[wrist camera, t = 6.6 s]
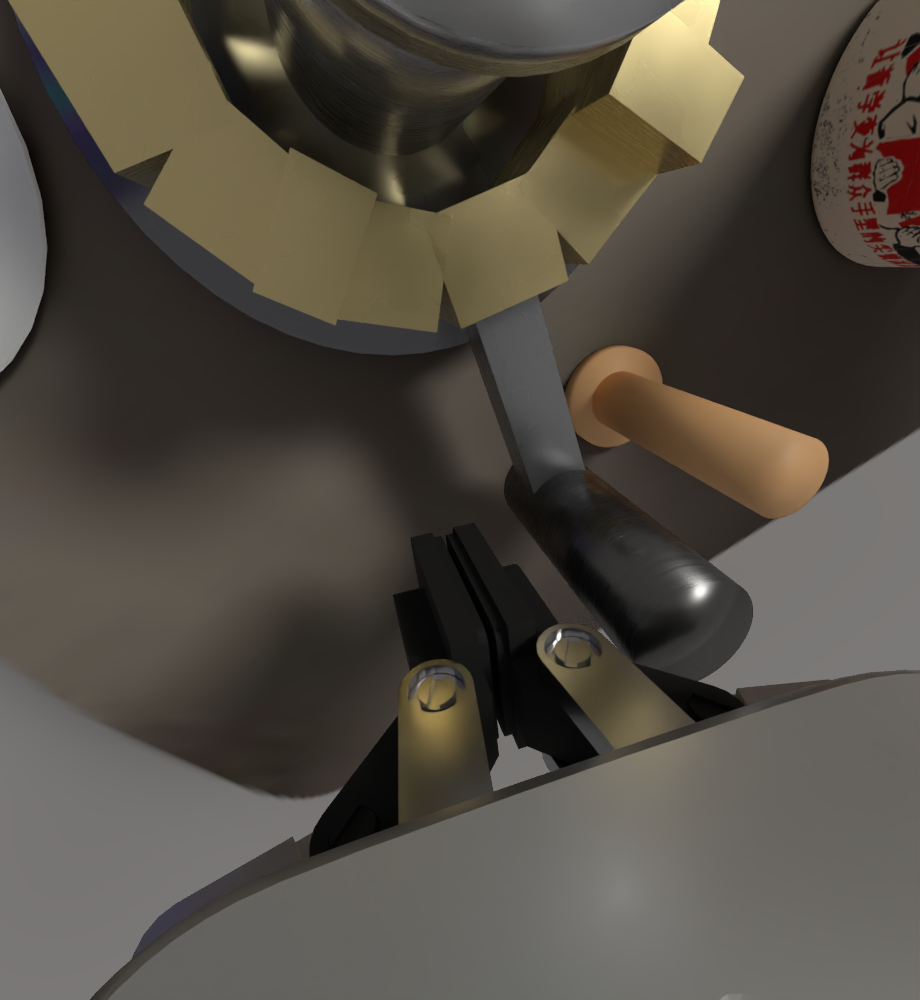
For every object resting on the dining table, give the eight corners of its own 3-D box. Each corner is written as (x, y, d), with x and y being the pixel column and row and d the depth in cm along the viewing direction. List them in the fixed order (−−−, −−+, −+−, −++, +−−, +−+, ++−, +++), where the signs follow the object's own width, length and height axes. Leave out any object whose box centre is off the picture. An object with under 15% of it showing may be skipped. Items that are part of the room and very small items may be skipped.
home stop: (661, 344, 18) (883, 398, 11) (642, 439, 19) (824, 540, 12) (570, 344, 17) (746, 402, 10) (558, 444, 18) (702, 555, 11)
